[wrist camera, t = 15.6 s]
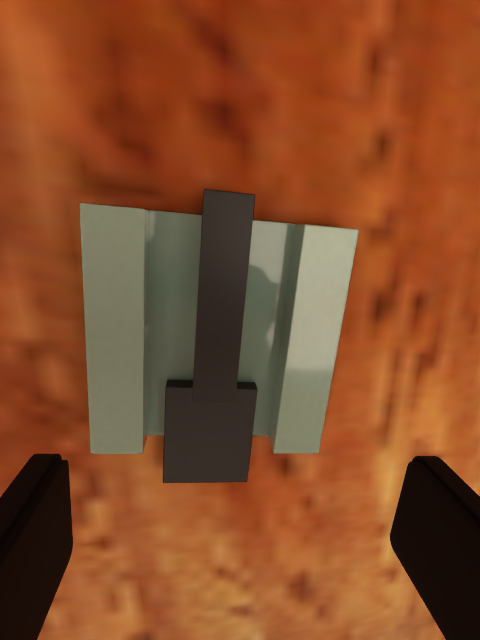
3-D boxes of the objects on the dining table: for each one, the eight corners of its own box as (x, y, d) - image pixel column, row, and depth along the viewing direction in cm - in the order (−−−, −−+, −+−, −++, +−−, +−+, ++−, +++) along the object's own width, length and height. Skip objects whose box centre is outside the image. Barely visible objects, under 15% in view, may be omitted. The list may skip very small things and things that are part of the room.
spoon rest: (342, 228, 19) (359, 229, 17) (308, 433, 23) (318, 453, 21) (93, 204, 18) (78, 202, 15) (101, 431, 21) (90, 454, 19)
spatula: (172, 190, 17) (167, 184, 15) (276, 201, 18) (289, 198, 16) (164, 472, 22) (159, 506, 20) (245, 471, 23) (251, 504, 20)
